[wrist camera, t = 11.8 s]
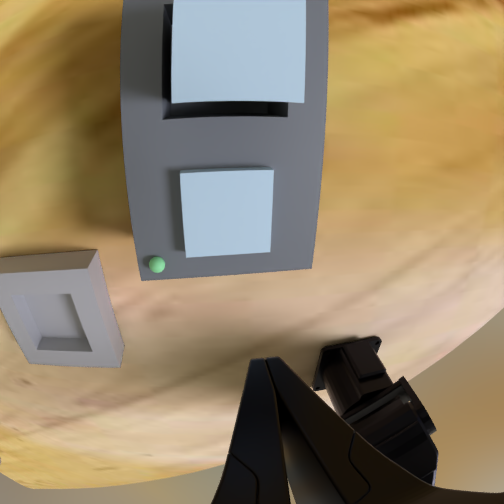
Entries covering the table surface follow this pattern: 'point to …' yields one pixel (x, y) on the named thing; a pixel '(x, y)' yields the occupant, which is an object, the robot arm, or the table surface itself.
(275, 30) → the plug
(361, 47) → the table surface
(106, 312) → the cradle
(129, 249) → the table surface
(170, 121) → the grey dispenser box
